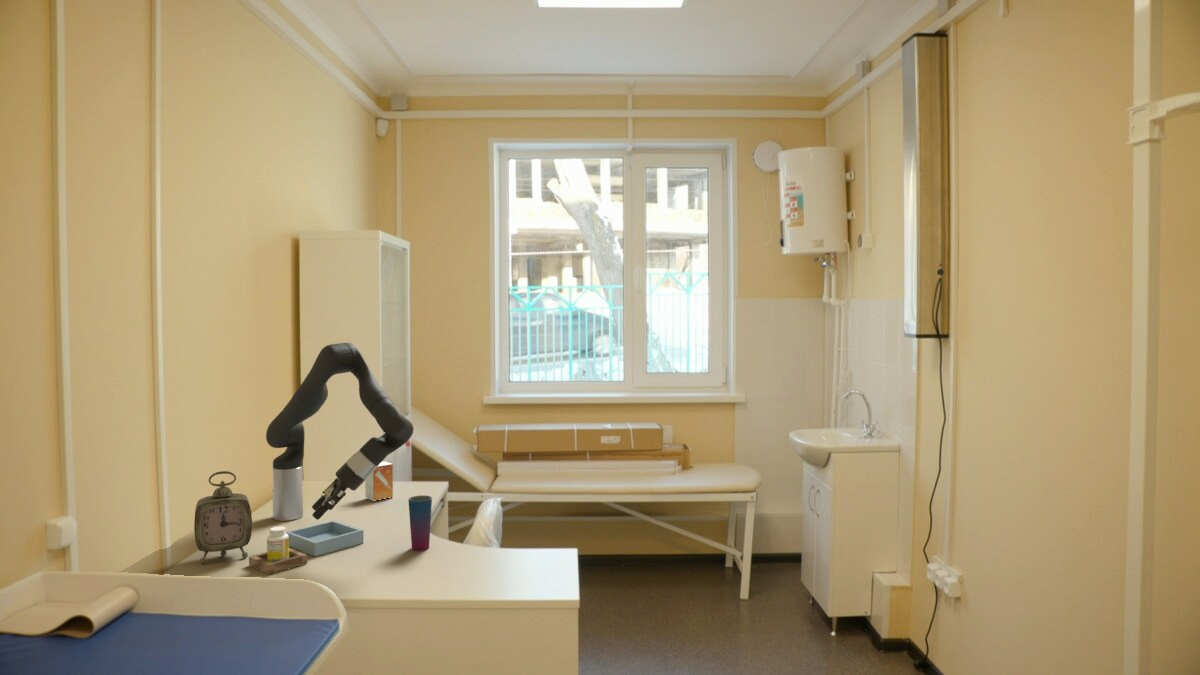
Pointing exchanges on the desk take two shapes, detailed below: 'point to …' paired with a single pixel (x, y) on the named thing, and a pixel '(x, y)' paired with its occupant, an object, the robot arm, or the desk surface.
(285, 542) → the supplement bottle
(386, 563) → the desk surface
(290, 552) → the holder
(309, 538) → the tray
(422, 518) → the cup
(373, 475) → the small box
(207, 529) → the tabletop clock
